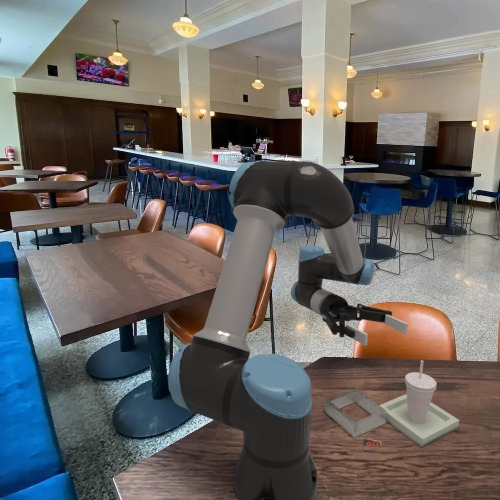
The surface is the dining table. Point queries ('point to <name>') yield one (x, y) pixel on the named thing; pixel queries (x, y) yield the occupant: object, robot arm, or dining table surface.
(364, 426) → the square frame
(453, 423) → the tray
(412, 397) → the smoothie
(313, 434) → the dining table surface
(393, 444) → the dining table surface
